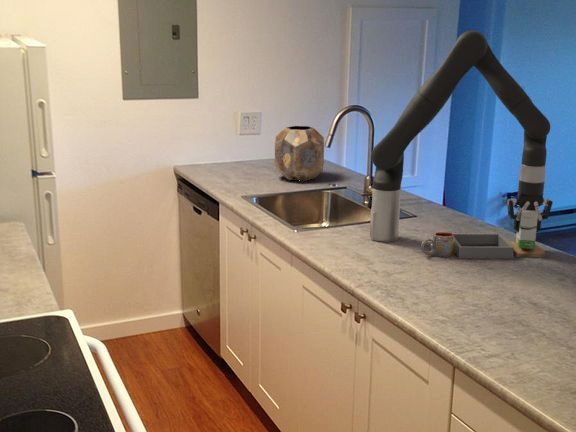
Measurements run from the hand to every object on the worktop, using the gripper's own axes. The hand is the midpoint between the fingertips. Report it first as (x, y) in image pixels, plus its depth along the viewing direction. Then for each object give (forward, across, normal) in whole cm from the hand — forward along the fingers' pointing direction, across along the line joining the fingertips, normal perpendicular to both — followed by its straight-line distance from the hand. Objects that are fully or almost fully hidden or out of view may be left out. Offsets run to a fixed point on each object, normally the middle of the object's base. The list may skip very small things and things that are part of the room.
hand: (526, 231), depth 220 cm
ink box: (+5, 0, 0) cm, 5 cm away
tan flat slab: (+7, 0, 0) cm, 7 cm away
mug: (+7, -29, -4) cm, 30 cm away
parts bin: (+7, -14, 0) cm, 16 cm away
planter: (+7, -70, +107) cm, 128 cm away
